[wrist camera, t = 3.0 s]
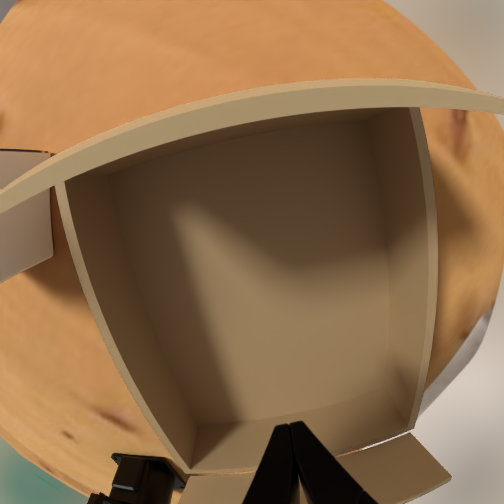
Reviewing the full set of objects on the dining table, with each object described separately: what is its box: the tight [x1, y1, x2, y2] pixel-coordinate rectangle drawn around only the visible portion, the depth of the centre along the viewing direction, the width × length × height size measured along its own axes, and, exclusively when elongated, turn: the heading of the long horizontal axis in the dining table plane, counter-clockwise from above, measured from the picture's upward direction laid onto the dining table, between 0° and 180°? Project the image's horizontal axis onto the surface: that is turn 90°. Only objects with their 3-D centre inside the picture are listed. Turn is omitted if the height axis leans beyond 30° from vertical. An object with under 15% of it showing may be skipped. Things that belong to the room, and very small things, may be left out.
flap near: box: [0, 78, 504, 214], centre depth 6 cm, size 6×15×1 cm
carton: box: [55, 107, 438, 474], centre depth 14 cm, size 20×16×5 cm
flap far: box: [178, 433, 452, 504], centre depth 11 cm, size 6×15×1 cm
